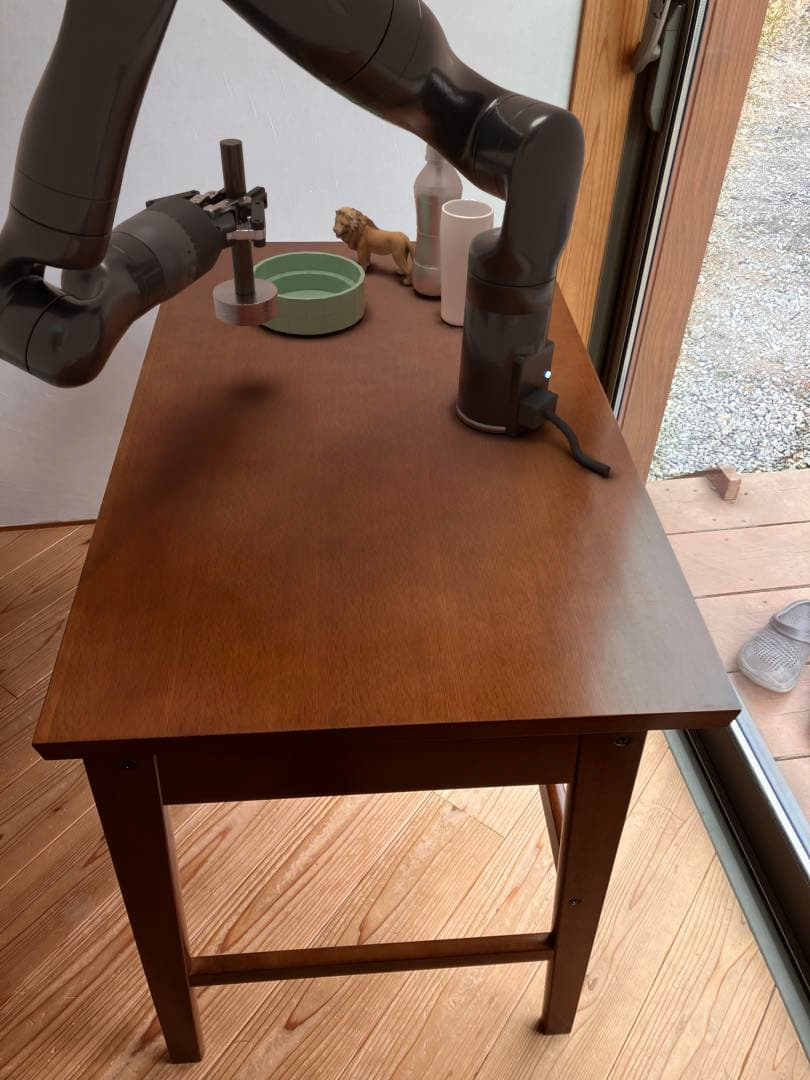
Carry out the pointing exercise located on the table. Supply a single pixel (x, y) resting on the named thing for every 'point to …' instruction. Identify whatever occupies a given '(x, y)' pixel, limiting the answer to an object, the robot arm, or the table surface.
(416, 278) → the plastic bottle
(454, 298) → the drinking glass
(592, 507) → the table surface
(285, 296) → the bowl
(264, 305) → the peg stand
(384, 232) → the lion figurine
